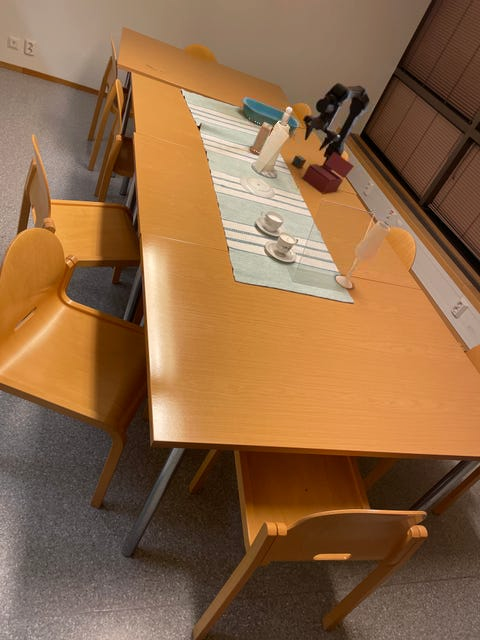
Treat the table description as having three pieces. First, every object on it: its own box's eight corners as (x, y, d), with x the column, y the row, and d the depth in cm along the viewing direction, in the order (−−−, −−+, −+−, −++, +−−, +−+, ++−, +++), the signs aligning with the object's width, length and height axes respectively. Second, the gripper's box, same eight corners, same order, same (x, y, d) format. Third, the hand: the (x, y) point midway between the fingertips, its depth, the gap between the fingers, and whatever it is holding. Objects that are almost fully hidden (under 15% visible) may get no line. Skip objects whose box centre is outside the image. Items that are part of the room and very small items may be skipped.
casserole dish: (242, 120, 260) (247, 107, 256) (234, 104, 275) (239, 92, 271) (298, 141, 275) (304, 129, 271) (288, 126, 291) (293, 114, 287)
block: (296, 163, 243) (300, 155, 241) (302, 167, 242) (306, 160, 239) (291, 163, 240) (295, 155, 237) (297, 168, 238) (301, 160, 236)
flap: (324, 163, 237) (324, 164, 237) (343, 178, 233) (344, 178, 233) (334, 151, 236) (334, 152, 236) (353, 165, 231) (354, 166, 232)
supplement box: (259, 155, 228) (270, 129, 220) (250, 150, 228) (261, 125, 220) (261, 150, 235) (273, 125, 227) (252, 146, 234) (264, 121, 227)
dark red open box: (317, 176, 241) (324, 163, 237) (336, 191, 237) (344, 178, 233) (302, 177, 230) (309, 164, 226) (322, 193, 226) (329, 179, 222)
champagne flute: (349, 290, 163) (389, 234, 149) (333, 279, 165) (372, 222, 151) (354, 284, 169) (394, 229, 155) (339, 273, 170) (377, 217, 156)
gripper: (305, 101, 213) (289, 134, 222) (336, 123, 207) (318, 155, 216) (317, 103, 221) (301, 135, 230) (347, 124, 215) (330, 155, 224)
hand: (312, 145), depth 225 cm, fingers open, 9 cm apart
